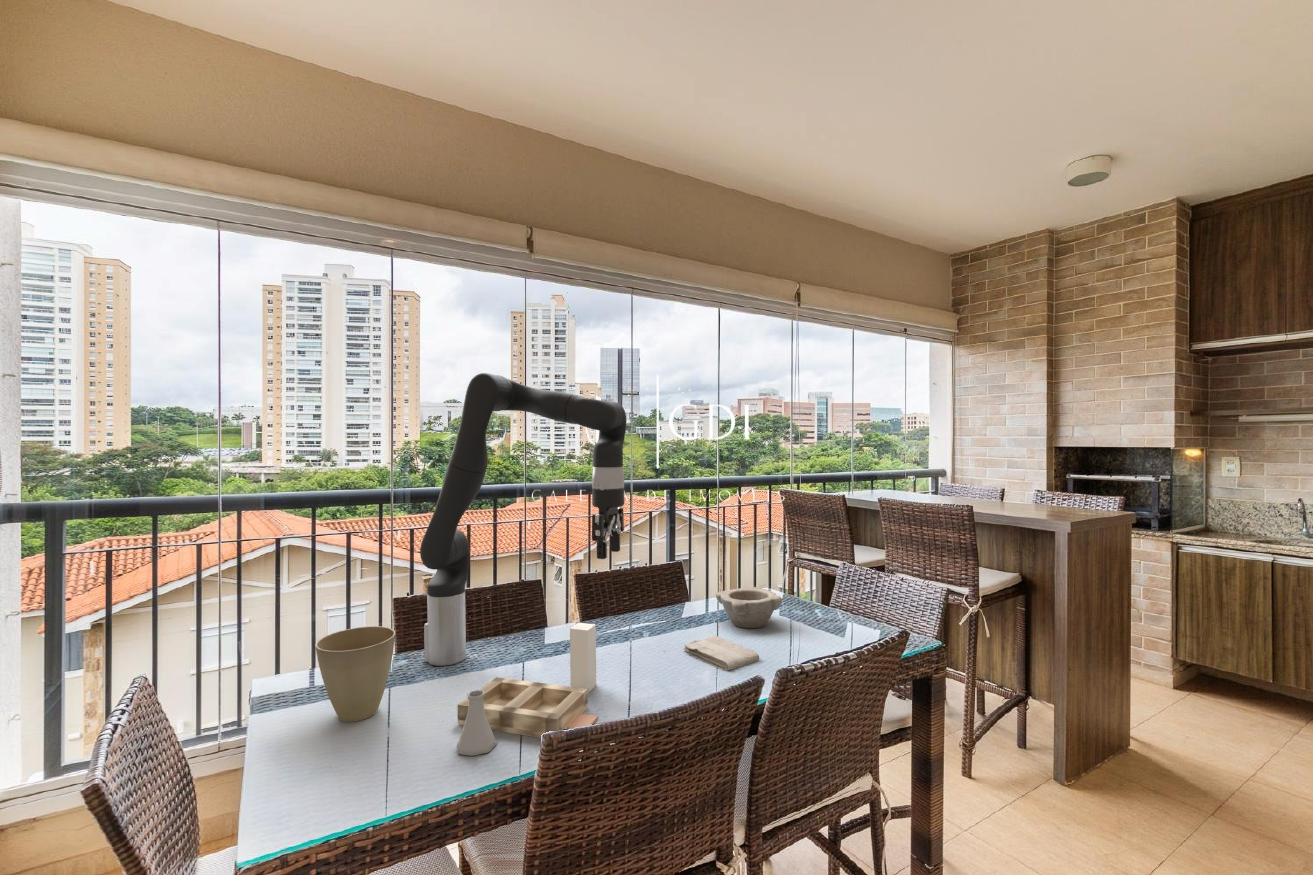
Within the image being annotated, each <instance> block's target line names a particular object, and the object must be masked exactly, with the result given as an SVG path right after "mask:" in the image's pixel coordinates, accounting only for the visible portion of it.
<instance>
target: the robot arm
mask: <svg viewBox="0 0 1313 875" xmlns="http://www.w3.org/2000/svg"><path fill="white" fill-rule="evenodd" d="M501 411H503V412H504V411H510V412H511V411H513V412H514V411H515V412H517V411H518V412H525V413H526V412H527V413H530V414H534V415H537V416H541V417H543V418H545V419H548V420H549V419H550V420H553V421H557V422H562V423H566V424H571V425H578V426H581V427H585V428H586V429H591V430H596V431H598V440H597V442H596V443H594V445H593V448H592V449H593V450H592V473H591V474H592V475H591V493H592V494H591V498H592V500H591V501H592V502H591V503H592V504H591V505H592V506H593V507H594V508H598V513H594V514H592V515H591V541H592V542H595V543H596V558H597V559H598V560H605V559H607V558H608V547H607V546H608V543H607V541H608V538H609V535H610V551H611V552H613V553H615V552H616V553H617V552H618V553H619V552H620V551H621V535H622V533H624V531H625V525H624V524H625V521H624V520H625V518H624V508H623V506H625V473H624V461H623V459H624V455H623V454H624V451H623V446H624V443H625V437H626V430H627V415H626V414H627V413H626V410H625V409H624V407H623V406H622V405H621V404H620V403H618V402H616V401H608V400H602V399H601V400H600V399H594V398H587V397H584V396H581V395H577V394H573V393H568V392H564V391H557V390H551V389H550V390H549V389H540V388H535V387H532V386H531V387H530V386H528V385H524V384H521V383H519V382H516V381H514V380H511V379H509V378H506V377H505V376H503V375H499V374H492V373H488V372H480V373H477V374H476V375H474V376H473V377H472V379H470V381H469V382H468V386H467V387H466V391H465V396H464V402H463V406H462V412H461V419H460V422H459V428H458V431H457V433H456V438H455V442H454V445H453V449H452V452H451V455H450V459H449V460H448V464H447V468H446V470H445V474H444V479H443V482H442V486H441V490H440V492H439V495H438V498H437V502H436V505H435V508H434V512H433V514H432V516H431V518H430V521H429V524H428V526H427V529H426V530H425V533H424V536H423V537H422V539H421V540H422V541H421V544H420V550H419V553H420V554H419V555H420V559H421V562H422V565H424V566H425V567H426V568H427V569H429V570H436V572H435V573H434V576H433V577H432V578H431V579H430V580H429V582H428V584H427V586H426V592H427V593H426V598H427V603H426V604H427V622H426V623H424V625H423V627H424V628H423V629H424V630H423V631H424V632H423V634H424V635H423V636H424V637H423V638H424V641H423V642H424V644H423V646H424V650H423V652H424V662H426V663H428V664H429V665H431V666H432V665H433V666H440V667H441V666H451V665H455V664H458V663H460V662H463V661H464V660H465V659H466V657H467V648H466V647H467V646H466V644H467V642H466V640H467V638H466V636H467V635H466V631H467V630H466V628H467V627H466V585H467V581H468V578H469V568H470V567H469V565H470V546H469V541H468V538H467V536H466V535H465V533H464V532H463V531H462V530H460V529H458V526H459V523H460V521H461V519H462V517H463V516H464V514H465V512H466V511H467V510H468V509H469V507H470V505H471V504H472V503H473V501H474V500H475V498H476V497H477V496H478V494H479V492H480V491H481V490H480V489H482V488H481V487H482V486H483V483H484V480H485V479H484V478H485V476H486V474H487V472H486V471H487V469H488V462H489V458H488V456H489V454H488V448H487V439H486V436H487V429H488V426H489V423H490V420H491V416H492V414H493V412H501Z"/></svg>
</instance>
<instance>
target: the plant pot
mask: <svg viewBox="0 0 1313 875" xmlns="http://www.w3.org/2000/svg"><path fill="white" fill-rule="evenodd" d="M395 638H396V631H395V630H394V629H393V628H392V627H391V628H390V627H388V626H381V625H380V626H378V625H375V626H374V625H372V626H359V627H352V628H348V629H343V630H339V631H335V632H332V633H328V634H327V635H325V636H323V637H321V638H319V639H318V640H317V641H316V642H315V645H314V646H315V652H316V658H317V661H318V666H319V672H320V675H321V679H322V680H323V681H322V682H323V685H324V687H325V691H326V693H327V696H328V698H329V701H330V703H331V705H332V708H333V709H334V712H335V714H336V715H337V717H338V720H340V721H341V722H345V723H351V722H359V721H363V720H365V719H368V718H370V717H372V716H373V715H375V714H376V713H377V712H378V710H379V707H380V704H381V701H382V699H383V695H384V693H385V689H386V685H387V682H388V679H389V678H388V677H389V674H390V669H391V664H392V659H393V653H394V646H395Z"/></svg>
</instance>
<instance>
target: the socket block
mask: <svg viewBox="0 0 1313 875" xmlns="http://www.w3.org/2000/svg"><path fill="white" fill-rule="evenodd" d="M478 690H484V692H485V696H484V697H483V704H484V709H485V714H486V717H487V720H488V722H489V725H490V727H491V730H492V731H495V732H496V731H497V732H504V733H508V734H515V735H516V734H517V735H522V736H529V737H534V738H541V735H542V734H543V733H546V732H549V731H559V730H563V729H569V728H575V727H582V726H588V725H590V724H593V725H594V724H595V723H596V722H597V721H598V719H599V715H593V714H586V713H584V712H585V711H587V709H588V708H589V706H588V705H589V700H588V697H589V696H588V695H589V693H588V689H584V688H576V687H571V686H566V685H560V684H553V683H544V682H536V681H531V680H530V681H529V680H523V679H521V680H520V679H512V678H504V677H499V676H498V677H497V676H496V677H494V678H493V679H492V680H490V681H489V682H488V683H486V684H484V685H483V686H482V687H480V688H479V689H478ZM468 707H469V699H468V697H466V698H465V699H463V700H462V701H461V702H459V703H458V704H457V725H459V726H464V723H465V720H466V717H467V713H468ZM541 739H542V738H541Z"/></svg>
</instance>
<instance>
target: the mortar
mask: <svg viewBox="0 0 1313 875" xmlns="http://www.w3.org/2000/svg"><path fill="white" fill-rule="evenodd" d="M715 598H716V600H717V601H718V603H719V604H721V605H722V607H723V609H724V612H725V613H726V615H727V617H728V618H729V621H731V623H732V624H733V625H735V626H736V627H740V628H745V629H759V628H763V627H764V626H766V625H767V624H768V623H769V620H770V619H771V617H772V615H773V613H774V611H775V610H778V609H779V608H780V606H781V605H782V603H783V602H782V601H783V599H782V597H781V596H780V595H777V594H776V593H775V592H774V591H772V590H769V589H766V588H762V587H758V586H753V587H751V586H750V587H743V588H734V589H728V590H720V591H717V592H716V593H715Z"/></svg>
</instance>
